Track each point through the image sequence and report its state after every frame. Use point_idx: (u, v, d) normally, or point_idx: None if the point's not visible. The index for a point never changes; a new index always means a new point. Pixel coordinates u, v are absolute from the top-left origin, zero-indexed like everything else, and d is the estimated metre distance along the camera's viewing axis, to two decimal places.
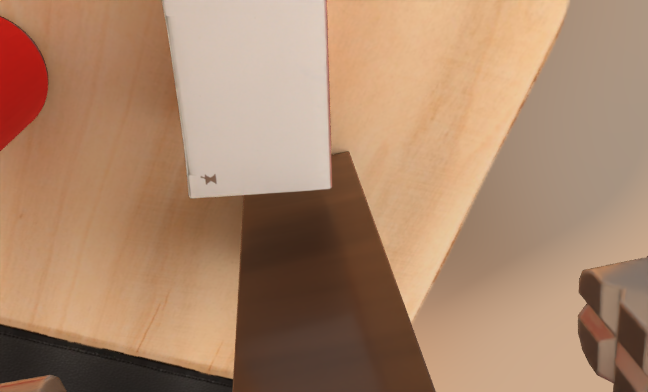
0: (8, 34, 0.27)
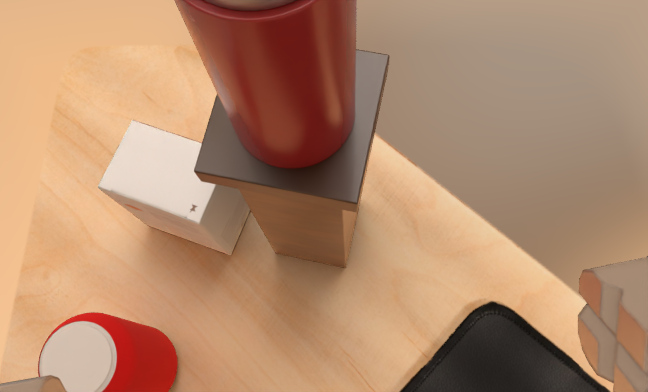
0: None
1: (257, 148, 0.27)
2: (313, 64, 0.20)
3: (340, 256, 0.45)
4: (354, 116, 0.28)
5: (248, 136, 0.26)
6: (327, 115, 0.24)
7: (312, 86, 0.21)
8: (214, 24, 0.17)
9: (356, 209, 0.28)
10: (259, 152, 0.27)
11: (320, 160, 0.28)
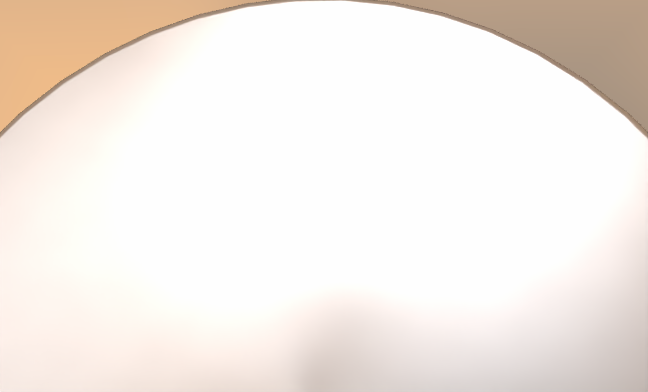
0: None
1: None
2: None
3: None
4: None
5: None
6: None
7: None
8: None
9: None
10: None
11: None
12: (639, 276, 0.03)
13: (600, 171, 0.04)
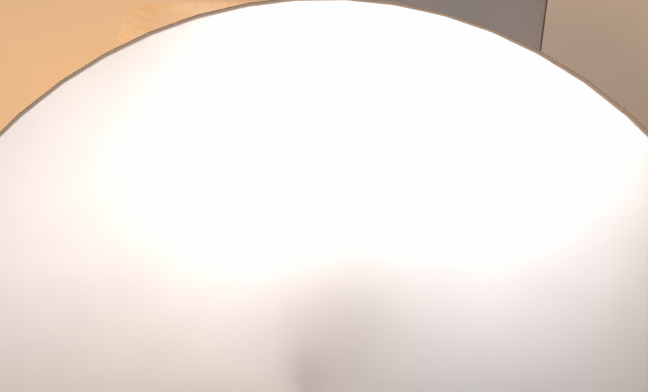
0: None
1: None
2: None
3: None
4: None
5: None
6: None
7: None
8: None
9: None
10: None
11: None
12: (640, 277, 0.03)
13: (601, 171, 0.04)
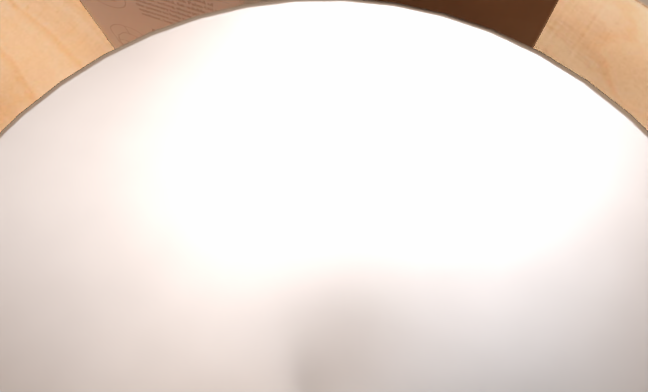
0: None
1: None
2: None
3: None
4: None
5: None
6: None
7: None
8: None
9: None
10: None
11: None
12: (641, 278, 0.03)
13: (602, 172, 0.04)
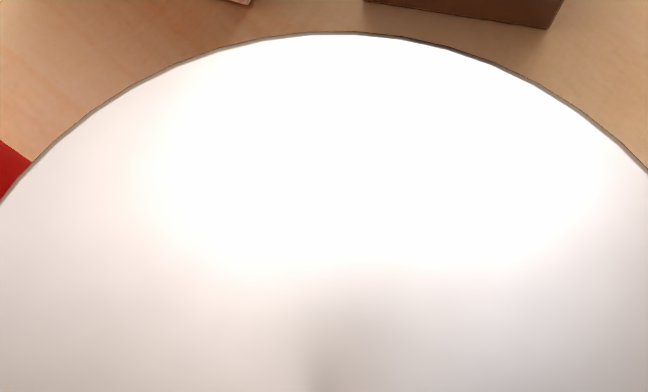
0: None
1: None
2: None
3: None
4: None
5: None
6: None
7: None
8: None
9: None
10: None
11: None
12: (630, 294, 0.04)
13: (594, 196, 0.04)
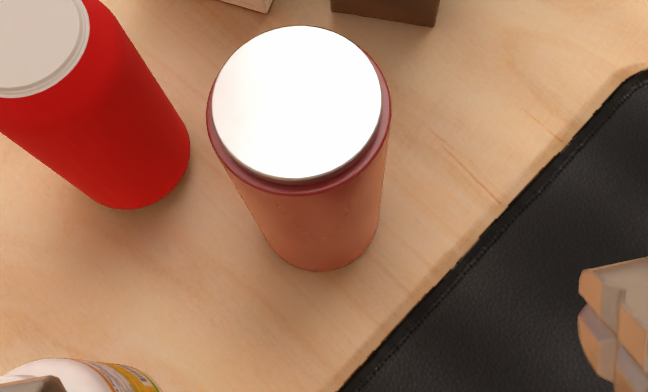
0: None
1: (287, 257, 0.28)
2: (347, 211, 0.21)
3: None
4: None
5: (279, 249, 0.27)
6: (356, 236, 0.25)
7: (345, 223, 0.23)
8: (259, 193, 0.19)
9: None
10: (288, 259, 0.29)
11: (346, 264, 0.29)
12: (358, 78, 0.19)
13: (353, 59, 0.19)
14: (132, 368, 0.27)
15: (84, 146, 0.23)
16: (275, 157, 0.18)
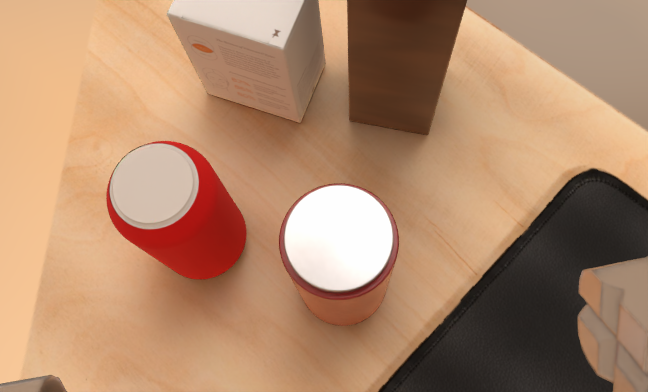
0: None
1: (320, 317, 0.39)
2: (368, 300, 0.32)
3: (430, 108, 0.40)
4: None
5: (316, 313, 0.38)
6: (372, 307, 0.36)
7: (366, 304, 0.33)
8: (314, 296, 0.29)
9: None
10: (321, 318, 0.39)
11: (362, 320, 0.40)
12: (377, 222, 0.29)
13: (374, 210, 0.29)
14: None
15: (188, 251, 0.33)
16: (326, 276, 0.29)
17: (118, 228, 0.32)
